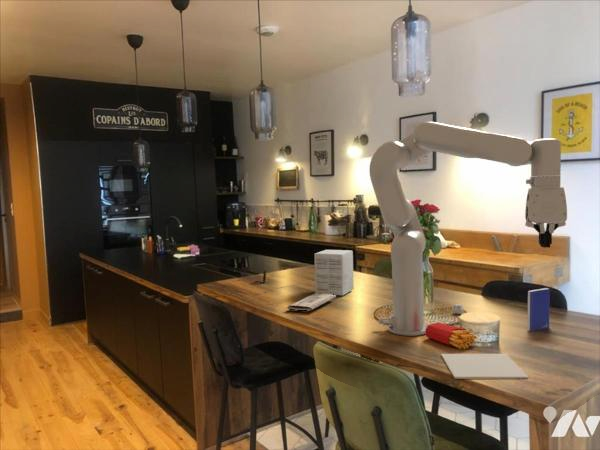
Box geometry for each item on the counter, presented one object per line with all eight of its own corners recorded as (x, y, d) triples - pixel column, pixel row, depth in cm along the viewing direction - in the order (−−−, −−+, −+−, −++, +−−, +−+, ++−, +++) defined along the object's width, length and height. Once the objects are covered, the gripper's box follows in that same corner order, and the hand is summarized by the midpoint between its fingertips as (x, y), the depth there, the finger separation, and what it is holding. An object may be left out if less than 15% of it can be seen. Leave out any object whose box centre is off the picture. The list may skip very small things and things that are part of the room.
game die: (465, 314, 176) (465, 305, 176) (454, 314, 176) (454, 306, 176) (460, 311, 180) (460, 303, 180) (450, 312, 180) (450, 303, 179)
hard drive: (549, 327, 158) (550, 288, 156) (531, 331, 154) (531, 291, 153) (545, 326, 159) (546, 287, 158) (526, 330, 156) (527, 290, 155)
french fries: (443, 320, 154) (478, 330, 143) (443, 334, 154) (479, 344, 143) (421, 326, 149) (456, 336, 138) (422, 340, 149) (457, 351, 138)
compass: (249, 283, 242) (249, 269, 241) (266, 283, 242) (265, 268, 242) (249, 287, 234) (248, 271, 233) (266, 286, 234) (266, 271, 234)
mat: (454, 378, 120) (454, 376, 120) (441, 355, 135) (441, 353, 135) (528, 378, 118) (528, 376, 118) (506, 355, 134) (506, 353, 134)
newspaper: (309, 298, 210) (309, 292, 209) (336, 300, 204) (335, 294, 204) (282, 311, 190) (281, 304, 190) (311, 314, 184) (310, 307, 184)
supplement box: (326, 287, 228) (325, 249, 227) (354, 289, 222) (353, 250, 221) (314, 293, 216) (313, 253, 215) (343, 295, 210) (342, 254, 209)
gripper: (522, 183, 140) (522, 249, 141) (579, 181, 138) (578, 248, 140) (513, 183, 147) (513, 246, 148) (567, 182, 146) (566, 244, 147)
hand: (545, 246), depth 144 cm, fingers closed
